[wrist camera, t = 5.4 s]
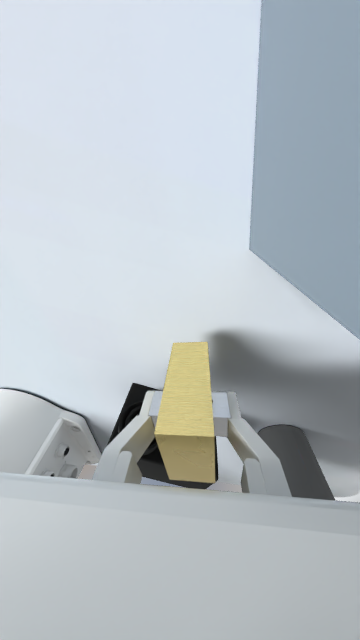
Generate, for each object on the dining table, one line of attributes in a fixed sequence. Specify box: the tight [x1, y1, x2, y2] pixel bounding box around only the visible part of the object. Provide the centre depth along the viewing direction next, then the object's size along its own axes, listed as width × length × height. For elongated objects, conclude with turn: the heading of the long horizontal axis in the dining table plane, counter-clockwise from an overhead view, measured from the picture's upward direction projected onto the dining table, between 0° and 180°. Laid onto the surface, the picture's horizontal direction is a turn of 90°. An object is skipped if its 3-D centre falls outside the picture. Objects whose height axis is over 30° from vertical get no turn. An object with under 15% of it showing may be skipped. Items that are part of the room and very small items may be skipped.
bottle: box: [258, 425, 335, 500], centre depth 16 cm, size 6×6×15 cm
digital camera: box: [107, 383, 218, 489], centre depth 19 cm, size 10×5×7 cm, turn 73°
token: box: [154, 342, 215, 483], centre depth 11 cm, size 4×2×6 cm, turn 7°
